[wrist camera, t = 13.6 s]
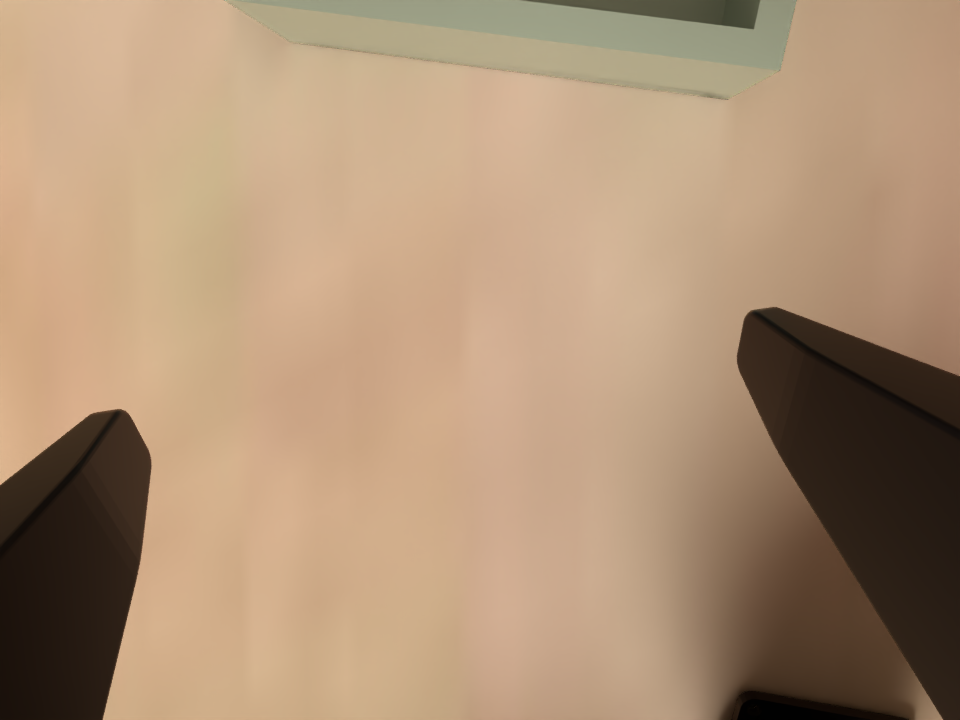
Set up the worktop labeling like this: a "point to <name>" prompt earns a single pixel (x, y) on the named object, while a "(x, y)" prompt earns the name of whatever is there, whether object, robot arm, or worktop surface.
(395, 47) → the sage bin
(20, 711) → the robot arm
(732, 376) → the worktop surface
